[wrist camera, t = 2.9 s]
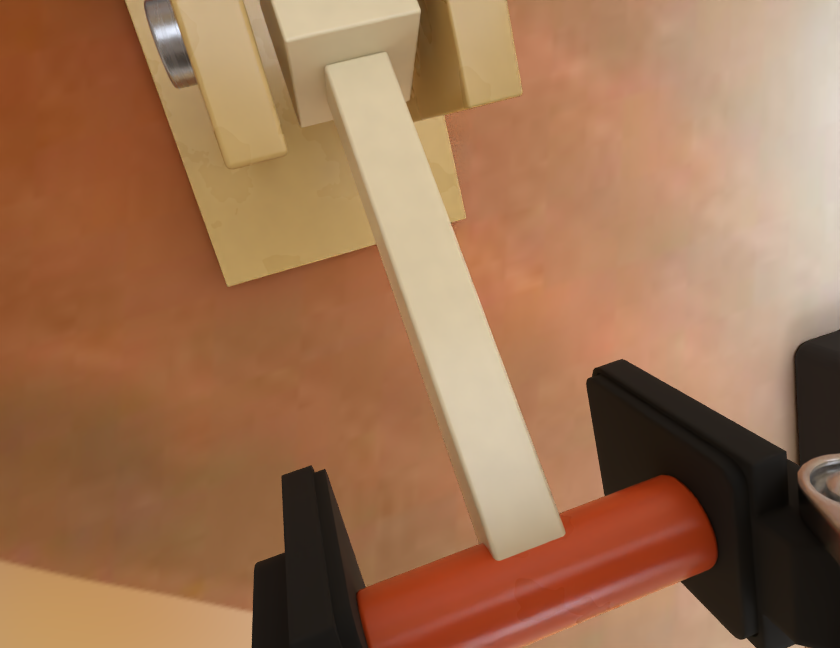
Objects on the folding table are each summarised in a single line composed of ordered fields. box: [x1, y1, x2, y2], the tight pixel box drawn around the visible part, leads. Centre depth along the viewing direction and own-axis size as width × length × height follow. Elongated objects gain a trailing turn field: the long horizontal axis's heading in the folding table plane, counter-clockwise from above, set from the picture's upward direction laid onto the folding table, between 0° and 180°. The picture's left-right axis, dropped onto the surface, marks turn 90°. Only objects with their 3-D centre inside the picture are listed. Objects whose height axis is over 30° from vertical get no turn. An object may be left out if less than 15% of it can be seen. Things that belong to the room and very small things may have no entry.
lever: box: [259, 0, 718, 648], centre depth 10 cm, size 12×5×2 cm, turn 15°
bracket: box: [125, 0, 522, 287], centre depth 15 cm, size 12×9×13 cm
